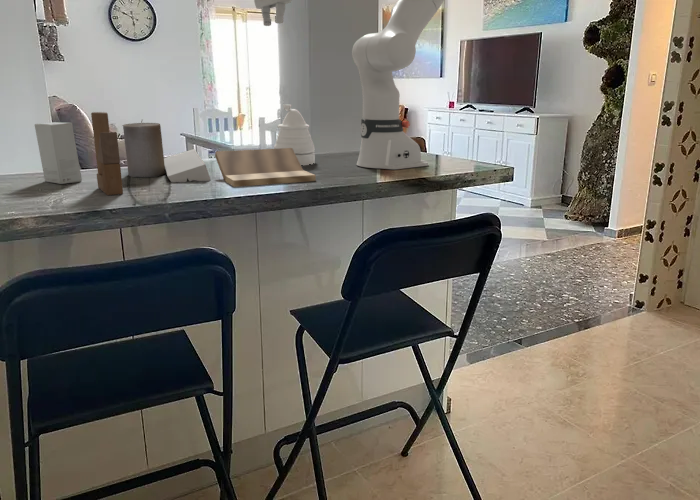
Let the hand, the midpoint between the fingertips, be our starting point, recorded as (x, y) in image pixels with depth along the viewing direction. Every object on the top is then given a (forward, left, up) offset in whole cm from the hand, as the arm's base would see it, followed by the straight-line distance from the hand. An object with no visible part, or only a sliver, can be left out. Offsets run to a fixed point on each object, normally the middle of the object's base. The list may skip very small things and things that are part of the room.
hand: (273, 24), depth 154 cm
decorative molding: (+23, -12, -40) cm, 48 cm away
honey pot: (-12, -16, -40) cm, 45 cm away
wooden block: (+45, +11, -40) cm, 61 cm away
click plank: (+6, +3, -37) cm, 37 cm away
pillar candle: (+34, -10, -40) cm, 54 cm away
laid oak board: (+6, +13, -40) cm, 42 cm away
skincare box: (+55, -7, -40) cm, 69 cm away
